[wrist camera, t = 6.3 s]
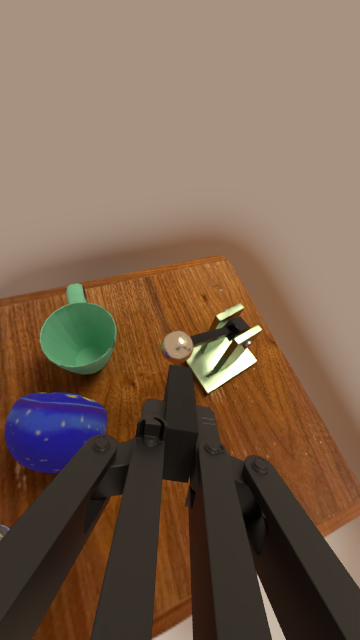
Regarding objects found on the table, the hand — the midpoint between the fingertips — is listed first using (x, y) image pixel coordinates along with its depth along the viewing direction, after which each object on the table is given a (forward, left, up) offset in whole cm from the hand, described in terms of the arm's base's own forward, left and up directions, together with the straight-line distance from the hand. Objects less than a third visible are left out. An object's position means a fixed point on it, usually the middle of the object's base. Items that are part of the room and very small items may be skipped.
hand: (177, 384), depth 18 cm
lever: (+9, -5, -13) cm, 17 cm away
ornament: (0, +12, -26) cm, 28 cm away
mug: (+14, +11, -26) cm, 31 cm away
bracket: (+12, -11, -25) cm, 30 cm away
